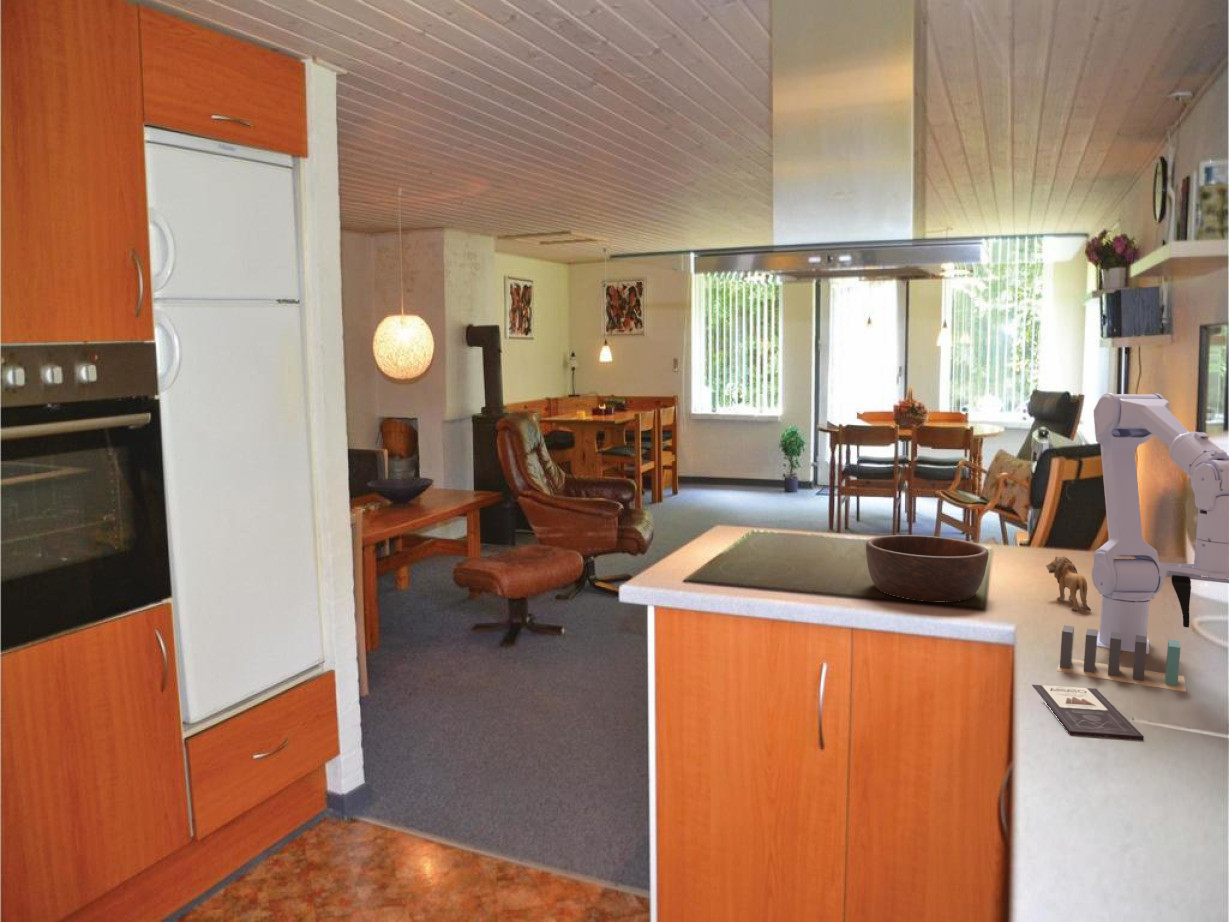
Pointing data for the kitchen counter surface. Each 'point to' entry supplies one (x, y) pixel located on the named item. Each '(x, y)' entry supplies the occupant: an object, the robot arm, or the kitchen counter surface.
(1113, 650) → the domino
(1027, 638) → the kitchen counter surface
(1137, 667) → the domino
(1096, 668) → the cork strip
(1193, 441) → the robot arm
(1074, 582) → the lion figurine
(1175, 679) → the domino
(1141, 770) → the kitchen counter surface
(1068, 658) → the domino
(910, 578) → the wooden bowl
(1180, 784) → the kitchen counter surface
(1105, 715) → the chocolate bar
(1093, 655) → the domino
